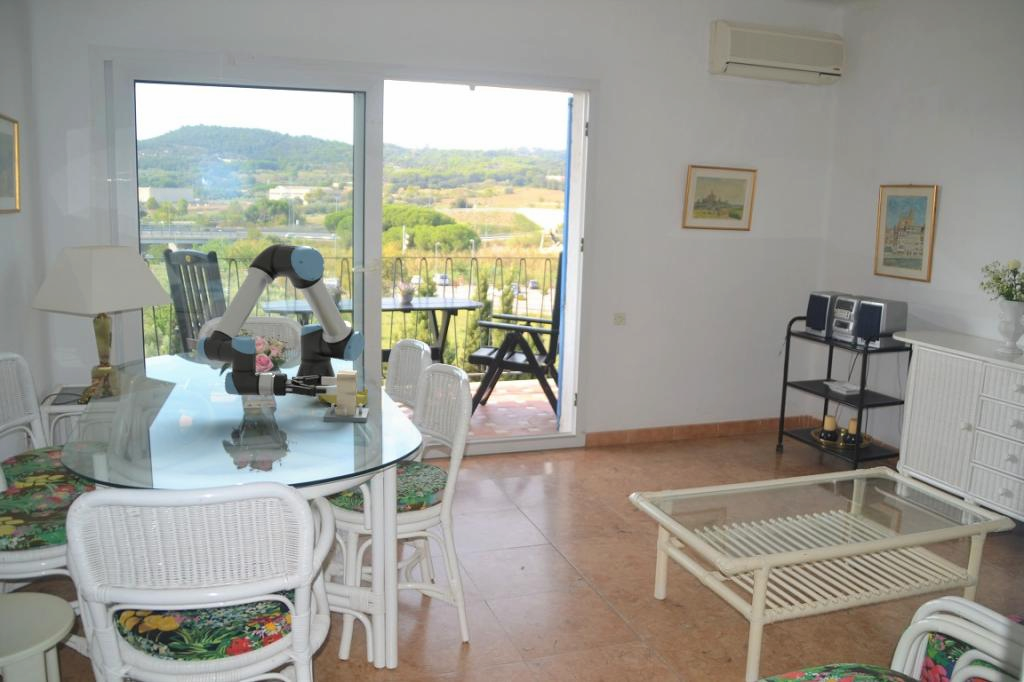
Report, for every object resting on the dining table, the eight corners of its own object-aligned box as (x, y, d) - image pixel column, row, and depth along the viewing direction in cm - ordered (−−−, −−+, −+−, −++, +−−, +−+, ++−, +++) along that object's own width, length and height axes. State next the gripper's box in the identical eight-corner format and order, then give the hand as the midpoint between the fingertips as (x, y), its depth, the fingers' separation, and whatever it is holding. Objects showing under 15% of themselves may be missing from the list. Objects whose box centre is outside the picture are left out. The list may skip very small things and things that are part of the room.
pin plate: (327, 411, 282) (327, 399, 282) (368, 412, 284) (368, 399, 283) (323, 421, 271) (323, 408, 270) (366, 422, 272) (366, 409, 271)
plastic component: (365, 392, 303) (368, 386, 293) (364, 411, 301) (366, 406, 291) (310, 388, 298) (311, 382, 288) (309, 408, 296) (310, 403, 286)
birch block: (338, 409, 280) (339, 370, 277) (356, 410, 280) (357, 370, 278) (336, 414, 274) (336, 373, 271) (354, 415, 274) (355, 374, 272)
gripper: (280, 386, 285) (342, 387, 288) (267, 404, 261) (335, 406, 263) (280, 365, 284) (342, 367, 286) (267, 382, 259) (335, 383, 262)
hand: (339, 385), depth 275 cm, fingers open, 13 cm apart
